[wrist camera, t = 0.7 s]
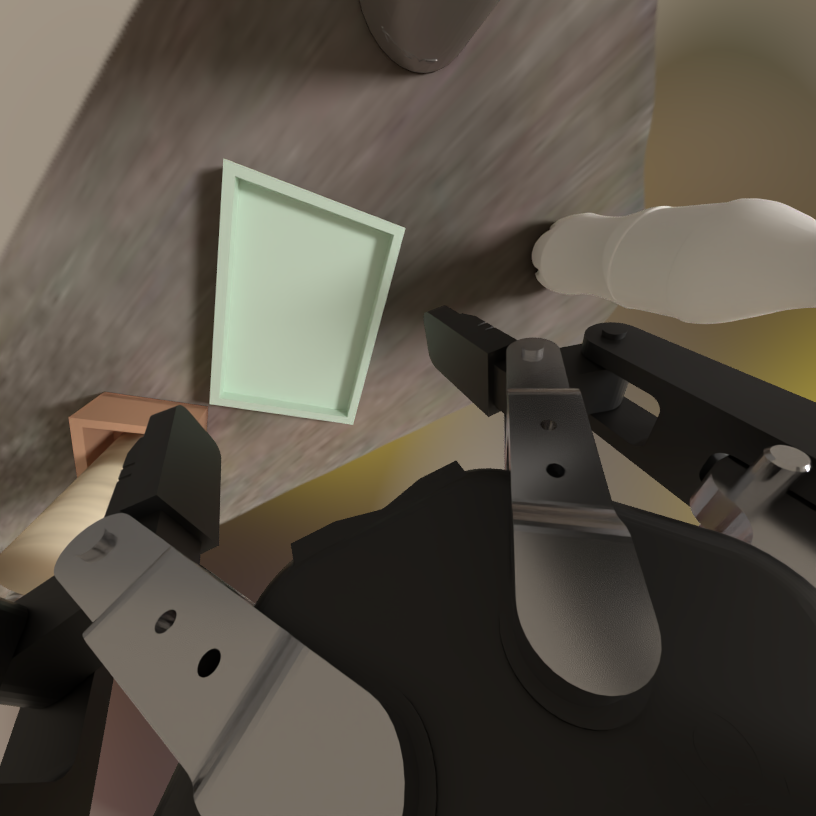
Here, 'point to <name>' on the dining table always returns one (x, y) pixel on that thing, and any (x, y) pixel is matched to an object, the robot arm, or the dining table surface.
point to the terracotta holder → (116, 422)
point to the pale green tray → (296, 298)
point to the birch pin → (64, 520)
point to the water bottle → (686, 259)
